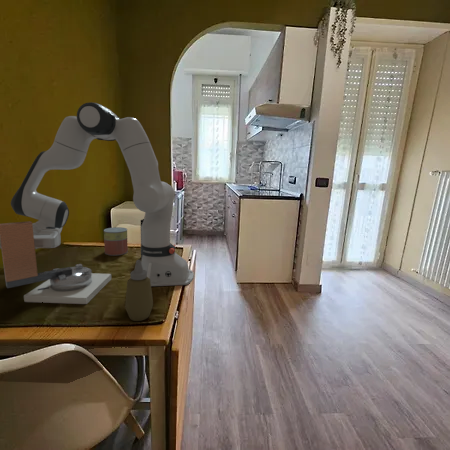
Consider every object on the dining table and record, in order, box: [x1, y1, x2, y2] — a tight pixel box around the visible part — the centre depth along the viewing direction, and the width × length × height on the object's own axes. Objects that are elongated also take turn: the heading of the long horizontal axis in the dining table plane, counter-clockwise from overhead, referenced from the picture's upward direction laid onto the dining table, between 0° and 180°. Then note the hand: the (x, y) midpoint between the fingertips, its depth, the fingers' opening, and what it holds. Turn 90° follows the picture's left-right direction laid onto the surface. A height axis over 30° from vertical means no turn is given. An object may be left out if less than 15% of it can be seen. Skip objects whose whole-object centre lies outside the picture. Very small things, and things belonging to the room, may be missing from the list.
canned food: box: [103, 226, 129, 256], centre depth 138 cm, size 11×11×12 cm
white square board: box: [23, 272, 112, 305], centre depth 96 cm, size 20×20×2 cm
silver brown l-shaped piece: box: [0, 220, 93, 291], centre depth 90 cm, size 24×13×24 cm, turn 134°
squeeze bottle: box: [125, 259, 154, 322], centre depth 80 cm, size 8×8×18 cm
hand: (12, 247), depth 84 cm, fingers closed
